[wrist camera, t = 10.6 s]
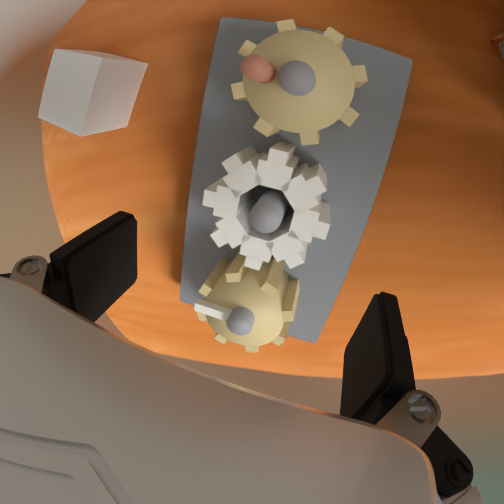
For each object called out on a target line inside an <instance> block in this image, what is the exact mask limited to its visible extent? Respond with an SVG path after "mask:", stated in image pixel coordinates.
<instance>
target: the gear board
mask: <svg viewBox="0 0 504 504" xmlns="http://www.w3.org/2000/svg"><path fill="white" fill-rule="evenodd" d="M412 64H413V60H412V59H409V58H407V57H404V56H402V55H399V54H397V53H394V52H391V51H389V50H386V49H383V48H380V47H377V46H374V45H371V44H368V43H365V42H362V41H358V40H355V39H351V38H348V37H344V35H342V34H341V33H339V32H338V31H336V30H335V29H333V28H331V27H330V26H329V27H328V28H327V30H326V31H325V32H324V31H320V30H315V29H311V28H306V27H301V26H296V25H295V22H294V20H293V19H289V20H283V21H277V22H270V21H262V20H253V19H243V18H229V17H221V19H220V23H219V27H218V32H217V36H216V40H215V45H214V49H213V54H212V59H211V64H210V69H209V74H208V79H207V84H206V89H205V94H204V100H203V105H202V111H201V117H200V123H199V129H198V135H197V142H196V149H195V155H194V162H193V170H192V177H191V185H190V193H189V201H188V210H187V219H186V228H185V239H184V249H183V261H182V273H181V287H180V301H182V302H185V303H187V304H190V305H193V306H195V308H194V310H195V311H196V312H197V315H198V318H199V321H208V322H209V324H210V326H211V327H212V328H213V329H214V330H215V331H216V332H217V333H216V335H215V337H214V339H216V340H217V341H219V342H220V343H222V344H223V345H224V344H225V343H226V342H227V341H230V342H233V343H235V344H239V345H243V346H245V348H246V352H258V350H259V347H260V345H264V344H267V343H269V342H273V343H274V344H276V345H278V346H279V345H281V344H282V343H283V342H284V341H285V340H286V338H287V336H290V337H294V338H297V339H301V340H305V341H308V342H312V343H316V341H317V339H318V337H319V335H320V333H321V331H322V329H323V326H324V324H325V322H326V320H327V318H328V316H329V314H330V311H331V309H332V307H333V305H334V302H335V300H336V298H337V296H338V293H339V291H340V289H341V287H342V284H343V282H344V279H345V277H346V275H347V272H348V270H349V267H350V265H351V263H352V260H353V258H354V255H355V253H356V250H357V248H358V245H359V242H360V240H361V237H362V235H363V232H364V229H365V227H366V224H367V221H368V218H369V216H370V213H371V210H372V207H373V204H374V201H375V199H376V196H377V193H378V190H379V187H380V184H381V181H382V178H383V174H384V171H385V168H386V165H387V162H388V158H389V155H390V152H391V148H392V145H393V142H394V138H395V134H396V131H397V127H398V124H399V120H400V116H401V112H402V108H403V104H404V100H405V96H406V92H407V87H408V83H409V78H410V74H411V69H412ZM280 141H283V142H287V143H291V144H295V145H296V146H295V150H294V154H293V156H297V157H300V158H299V162H298V166H300V165H302V164H304V163H307V164H308V166H309V168H311V167H312V166H314V165H316V164H318V163H320V165H321V166H322V168H323V170H324V171H325V173H326V175H327V191H326V192H324V193H322V195H321V201H324V202H327V203H330V228H329V231H328V234H327V236H326V239H325V240H323V239H320V238H317V237H312V241H311V243H308V245H307V250H306V256H305V262H304V263H303V264H300V265H298V266H296V267H294V268H291V269H290V268H289V267H288V265H287V264H286V262H285V260H284V259H283V260H281V261H279V262H277V261H276V259H275V258H274V256H273V255H272V256H271V259H270V261H269V263H268V262H265V261H263V263H262V266H261V268H260V270H255V269H252V268H249V267H245V266H244V264H245V259H246V256H245V255H241V254H239V253H240V248H241V244H240V245H238V246H237V247H235V248H233V249H232V248H231V246H230V245H229V243H227V244H225V245H223V246H221V247H220V248H219V247H218V246H217V244H216V243H215V242H214V240H213V239H212V237H211V236H210V234H211V233H212V232H213V231H214V230H215V229H216V227H217V226H216V224H215V223H216V222H217V221H218V220H219V219H220V218H221V217H218V216H214V215H213V211H214V208H211V207H207V206H204V205H202V204H203V197H204V190H205V189H206V188H208V187H209V186H210V185H212V184H213V183H215V182H216V181H218V180H219V179H221V178H222V177H224V176H225V175H227V174H228V172H227V171H226V169H225V168H224V166H223V165H222V162H223V161H225V160H226V159H228V158H229V157H231V156H233V155H234V154H236V153H238V152H240V151H242V150H244V149H246V148H248V147H250V146H252V145H253V147H254V148H255V150H256V151H257V153H258V154H260V153H262V152H265V153H266V154H267V153H268V152H269V150H270V148H271V147H272V146H274V145H276V144H277V143H279V142H280ZM298 166H297V167H298ZM252 198H253V200H254V202H255V203H256V204H255V205H254V207H253V208H252V209H251V211H250V214H249V219H250V223H251V225H252V226H253V227H254V228H255V229H256V230H257V231H259V232H261V233H271V232H274V231H275V230H277V229H278V227H279V226H280V224H281V221H282V219H283V216H285V215H287V214H289V213H291V212H293V211H294V209H293V208H292V206H291V204H290V203H289V201H288V200H287V198H286V196H285V195H284V193H283V191H281V190H277V189H274V188H270V187H266V186H263V185H257V186H256V187H254V190H253V195H252Z"/></svg>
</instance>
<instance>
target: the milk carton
mask: <svg viewBox="0 0 504 504" xmlns="http://www.w3.org/2000/svg"><path fill="white" fill-rule="evenodd" d="M490 41H491V43H492V44H493V46H494V47H495V49H496V50H497V52H498V53H499V55H500V57H501V58H502V60H503V61H504V31H503V32H502V33H500V34H499V35H497V36H496V37H494V38H493V39H491V40H490Z"/></svg>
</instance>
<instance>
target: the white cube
mask: <svg viewBox="0 0 504 504" xmlns="http://www.w3.org/2000/svg"><path fill="white" fill-rule="evenodd" d="M147 66H148V63H145V62H141V61H137V60H134V59H130V58H126V57H121V56H117V55H113V54H108V53H104V52H97V51H86V50H71V49H54V52H53V56H52V59H51V63H50V66H49V70H48V73H47V77H46V81H45V86H44V90H43V94H42V99H41V104H40V109H39V114H38V118H40V119H42V120H45V121H47V122H49V123H51V124H54V125H56V126H58V127H60V128H62V129H65V130H67V131H69V132H71V133H73V134H76V135H78V136H80V137H83V136H87V135H91V134H96V133H100V132H105V131H110V130H115V129H120V128H125V127H127V126H128V122H129V119H130V116H131V112H132V109H133V106H134V103H135V100H136V97H137V94H138V91H139V88H140V85H141V83H142V80H143V77H144V74H145V72H146V69H147Z"/></svg>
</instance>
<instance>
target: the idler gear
mask: <svg viewBox="0 0 504 504" xmlns="http://www.w3.org/2000/svg"><path fill="white" fill-rule="evenodd" d="M295 146H296V145H295V144H291V143H287V142H283V141H280V142H279V143H277V144H276V145H274V146H272V147H271V148H270V150H269V152H268V153H267V154H266V153H265V152H262V153H260V154H258V153H257V151H256V150H255V148H254V147H253V145H252V146H250V147H248V148H246V149H244V150H242V151H240V152H238V153H236V154H234V155H233V156H231V157H229V158H228V159H226V160H225V161H223V162H222V165H223V166H224V168H225V169H226V171H227V172H228V174H227V175H225V176H224V177H222V178H221V179H219V180H218V181H216V182H215V183H213V184H212V185H210V186H209V187H208V188H206V189H205V190H204V197H203V204H202V205H204V206H207V207H211V208H214V211H213V215H214V216H218V217H221V218H220V219H219V220H218V221H217V222H216V223H215V224H216V226H217V227H216V229H215V230H214V231H213V232H212V233H211V234H210V236H211V237H212V239H213V240H214V242H215V243H216V244H217V246H218V247H219V248H220V247H221V246H223V245H225V244H227V243H229V245H230V246H231V248H232V249H233V248H235V247H237V246H238V245H240V244H241V248H240V253H239V254H241V255H245V256H246V259H245V264H244V266H245V267H249V268H252V269H255V270H260V268H261V266H262V263H263V261H265V262H268V263H269V261H270V259H271V256H272V255H273V256H274V258H275V259H276V261H277V262H279V261H281V260H283V259H284V260H285V262H286V264H287V265H288V267H289V268H290V269H291V268H294V267H296V266H298V265H300V264H303V263H304V262H305V256H306V250H307V245H308V243H311V241H312V237H317V238H320V239H323V240H325V239H326V236H327V234H328V231H329V228H330V203H327V202H324V201H321V195H322V193H324V192H326V191H327V175H326V173H325V171H324V170H323V168H322V166H321V165H320V163H318V164H316V165H314V166H312V167H311V168H309V166H308V164H307V163H304V164H302V165H300V166H298V162H299V158H300V157H297V156H293V154H294V150H295ZM297 166H298V167H297ZM257 185H263V186H266V187H270V188H274V189H277V190H281V191H283V193H284V195H285V196H286V198H287V200H288V201H289V203H290V204H291V206H292V208H293V209H294V211H293V212H291V213H289V214H287V215H285V216H283V219H282V221H281V224H280V226H279V227H278V229H277V230H275V231H274V232H271V233H261V232H259V231H257V230H256V229H255V228H254V227H253V226H252V225H251V223H250V219H249V214H250V211H251V209H252V208H253V207H254V205H255V204H256V203H255V202H254V200H253V198H252V195H253V190H254V187H256V186H257Z"/></svg>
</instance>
